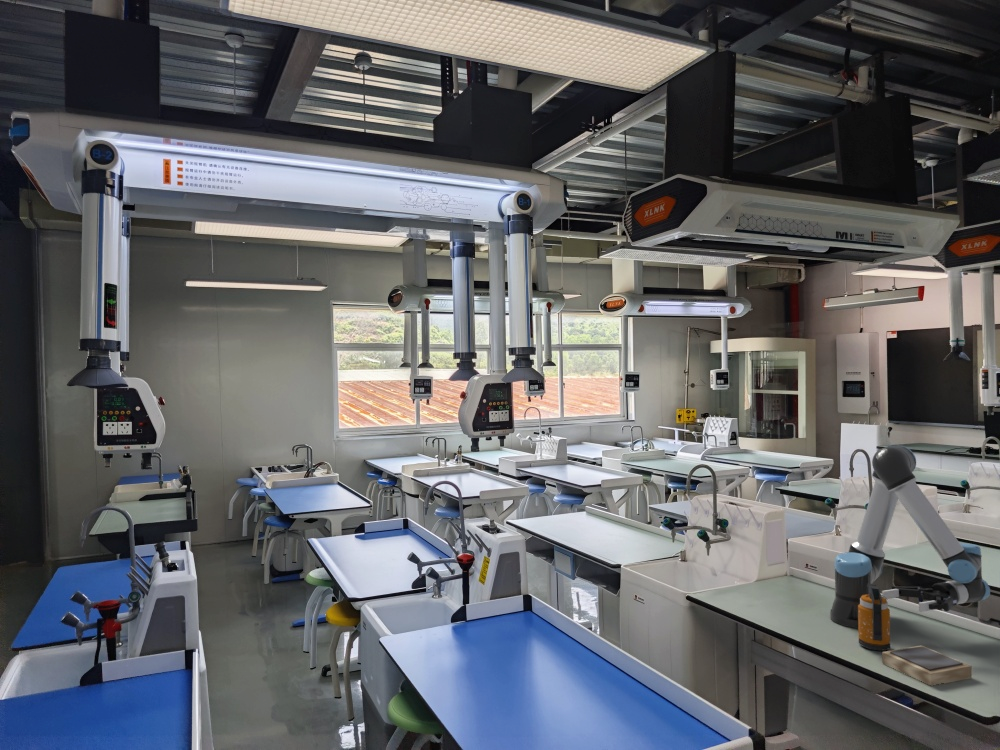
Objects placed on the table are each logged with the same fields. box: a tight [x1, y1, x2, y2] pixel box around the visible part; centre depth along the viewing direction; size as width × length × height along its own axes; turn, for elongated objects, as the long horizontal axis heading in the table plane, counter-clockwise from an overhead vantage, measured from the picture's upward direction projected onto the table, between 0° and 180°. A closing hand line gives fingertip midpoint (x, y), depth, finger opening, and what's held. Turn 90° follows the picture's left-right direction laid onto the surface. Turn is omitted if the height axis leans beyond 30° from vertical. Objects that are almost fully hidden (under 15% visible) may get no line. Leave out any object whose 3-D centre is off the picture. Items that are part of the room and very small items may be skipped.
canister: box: [857, 583, 891, 651], centre depth 215 cm, size 9×11×20 cm
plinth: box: [881, 645, 973, 686], centre depth 198 cm, size 16×16×4 cm
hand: (900, 601), depth 218 cm, fingers open, 13 cm apart
